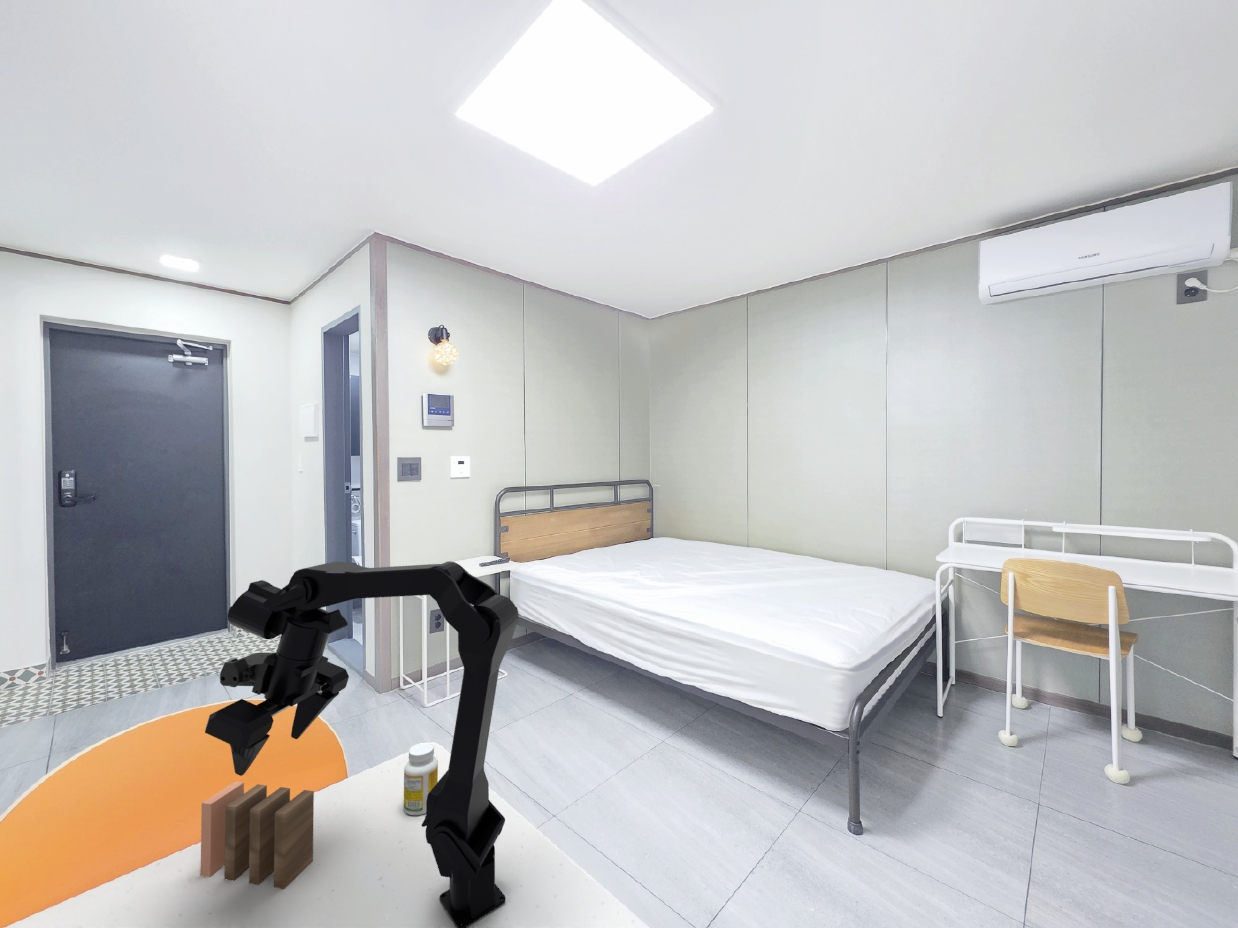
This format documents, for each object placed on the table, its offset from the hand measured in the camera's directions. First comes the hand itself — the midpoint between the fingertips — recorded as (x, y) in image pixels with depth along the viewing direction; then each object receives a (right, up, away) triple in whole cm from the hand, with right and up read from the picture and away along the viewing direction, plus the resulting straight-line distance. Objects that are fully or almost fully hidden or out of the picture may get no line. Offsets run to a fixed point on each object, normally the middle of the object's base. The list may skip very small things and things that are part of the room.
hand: (268, 754), depth 70 cm
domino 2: (-4, -17, +1) cm, 17 cm away
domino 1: (-8, -17, +2) cm, 19 cm away
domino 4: (+4, -17, 0) cm, 17 cm away
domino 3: (0, -17, +1) cm, 17 cm away
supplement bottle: (+16, -17, +14) cm, 27 cm away
